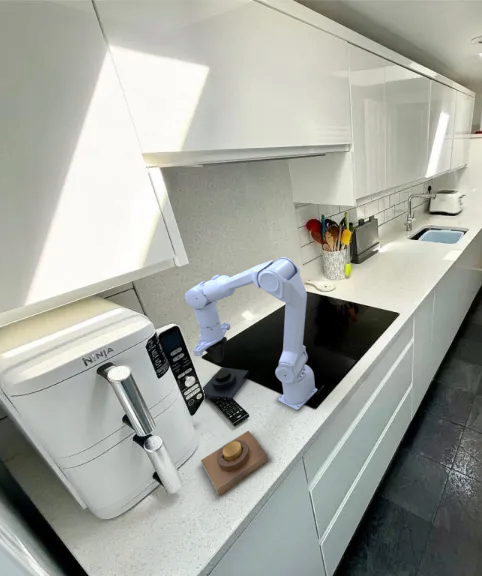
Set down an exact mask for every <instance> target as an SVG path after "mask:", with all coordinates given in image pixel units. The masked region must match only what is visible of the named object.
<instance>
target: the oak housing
mask: <svg viewBox="0 0 482 576" xmlns="http://www.w3.org/2000/svg"><path fill="white" fill-rule="evenodd" d="M233 441H236V442H239V443H240V445H241V449H242V453H241V455H240V456H239V457H238V458H237V459H236V460H234V461H226V460H225V459H224V455H223V448H224V447H225V446H226V445H227V444H228V443H230V442H233ZM268 462H269V457H268V454H267V453H266V452H265V450H264V449H263V448H262V446H261V445H260V443H259V442H258V441H257V439H256V438H255V437H254V436H253V434H252V432H250V430H247V431H245V432H243V433H241V434H240V435H239V436H237V437H236V438H234V439H232V440H231V441H229V442H227V443H226V444H224V445H222V446H221V447H220V448H219V449H218V448H217V450H215V451H213V452H212V453H210V454H209V455H206V456H205V457H204V458H202V459H201V460H200V463H201V465H202V468H203V469H204V472H205V473H206V475H207V477H208V479H209V480H210V482H211V485H212V486H213V488H214V490H215V492H216V494H217V495H218V497H220V496H222V495H223V494H224V493H226V492H227V491H228V490H230V489H231V488H233V487H234V486H235V485H237V484H238V483H239V482H241V481H242V480H244V479H246V477H248V476H249V475H250V474H252V473H253V472H255V471H256V470H257V469H259V468H260V467H262V466H263V465H265V464H266V463H268Z"/></svg>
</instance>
